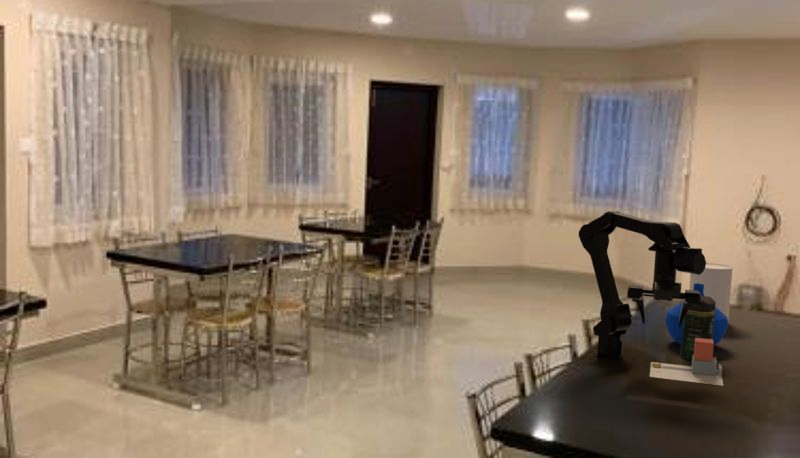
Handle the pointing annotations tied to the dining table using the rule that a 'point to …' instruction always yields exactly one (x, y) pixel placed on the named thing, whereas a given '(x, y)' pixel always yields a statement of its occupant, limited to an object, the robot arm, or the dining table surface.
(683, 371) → the panel
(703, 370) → the breaker toggle
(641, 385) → the dining table surface
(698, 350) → the cap
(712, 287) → the canister
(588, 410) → the dining table surface
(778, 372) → the dining table surface
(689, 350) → the coffee jar
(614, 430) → the dining table surface
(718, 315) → the vase
